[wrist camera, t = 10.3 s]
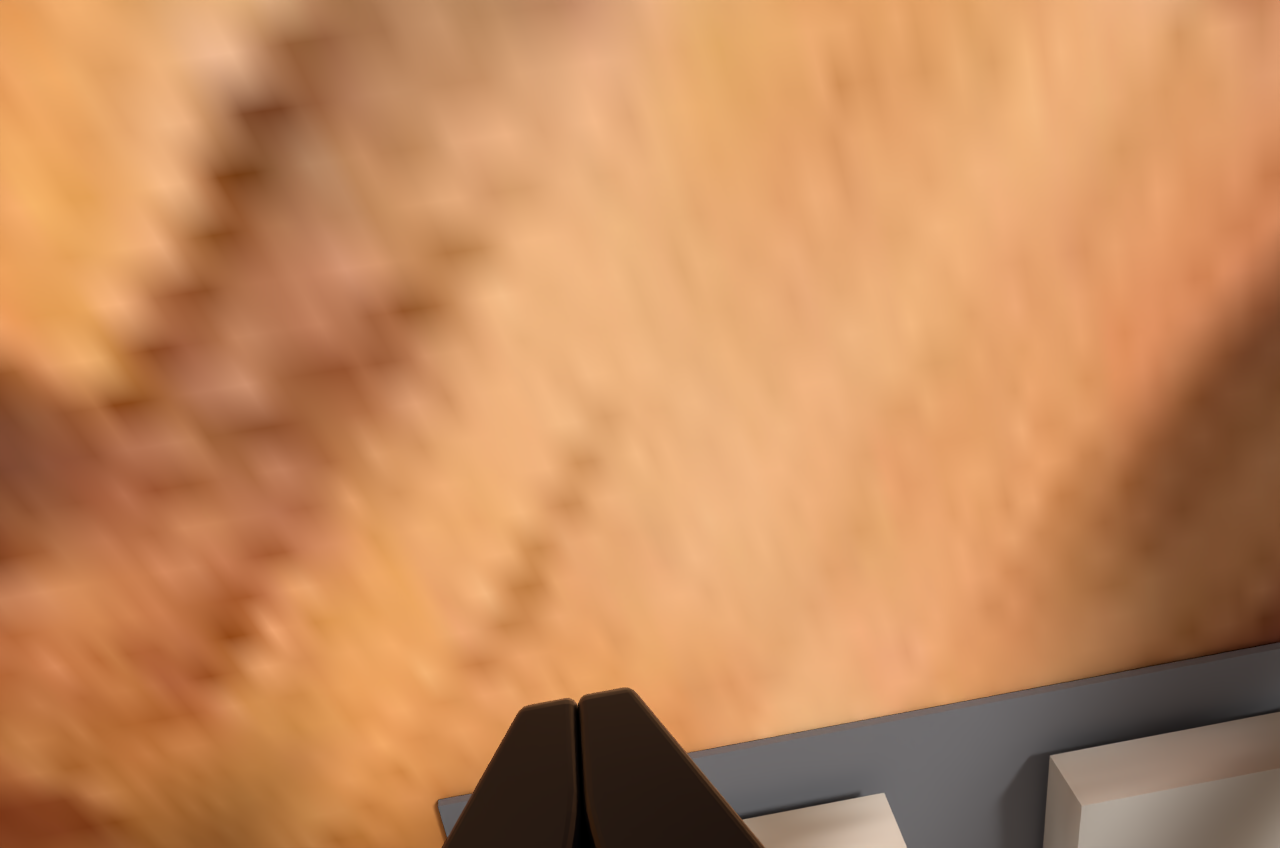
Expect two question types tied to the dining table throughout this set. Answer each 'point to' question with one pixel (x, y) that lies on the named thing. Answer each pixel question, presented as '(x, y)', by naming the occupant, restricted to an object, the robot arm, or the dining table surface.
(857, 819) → the plank
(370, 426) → the dining table surface
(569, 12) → the dining table surface
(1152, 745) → the plank
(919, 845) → the underlay mat
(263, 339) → the dining table surface
